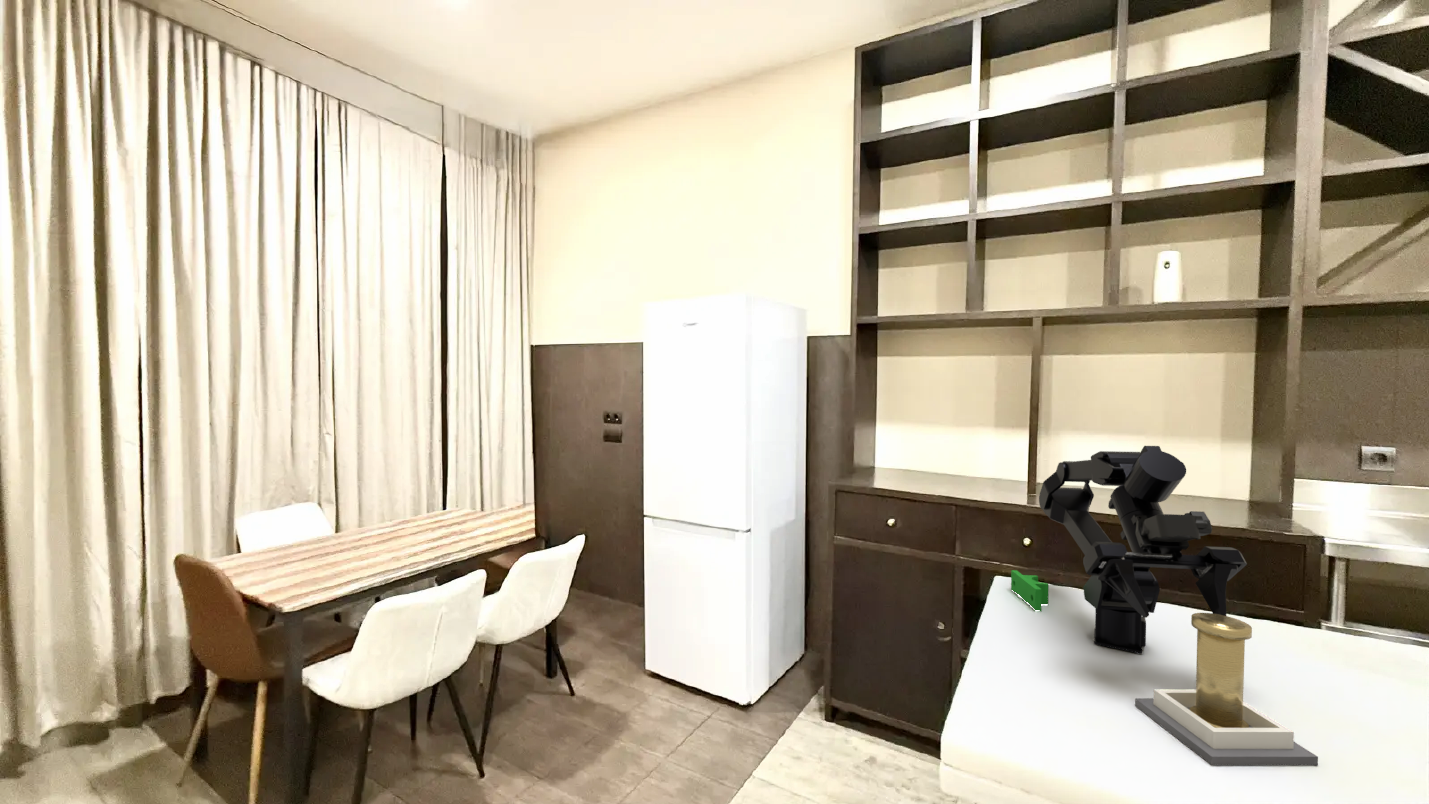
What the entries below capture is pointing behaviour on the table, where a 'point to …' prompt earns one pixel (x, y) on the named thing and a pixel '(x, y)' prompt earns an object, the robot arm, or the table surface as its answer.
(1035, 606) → the green notched block
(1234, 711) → the brass fitting
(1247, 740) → the socket plate
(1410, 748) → the table surface
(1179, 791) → the table surface
